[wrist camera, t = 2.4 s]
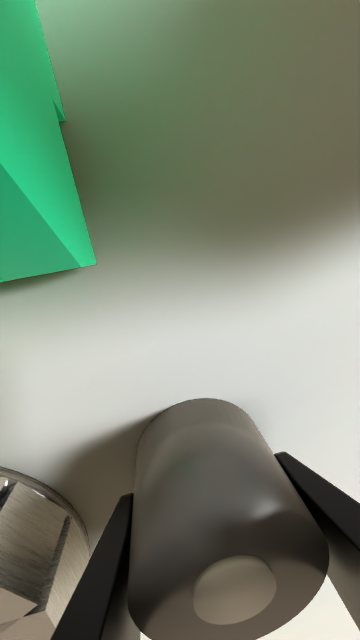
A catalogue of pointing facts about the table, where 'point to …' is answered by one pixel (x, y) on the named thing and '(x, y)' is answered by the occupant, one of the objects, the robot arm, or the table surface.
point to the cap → (217, 530)
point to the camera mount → (34, 157)
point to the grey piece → (36, 557)
